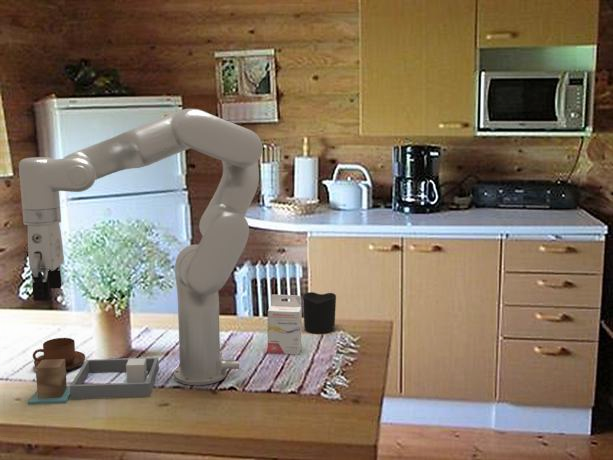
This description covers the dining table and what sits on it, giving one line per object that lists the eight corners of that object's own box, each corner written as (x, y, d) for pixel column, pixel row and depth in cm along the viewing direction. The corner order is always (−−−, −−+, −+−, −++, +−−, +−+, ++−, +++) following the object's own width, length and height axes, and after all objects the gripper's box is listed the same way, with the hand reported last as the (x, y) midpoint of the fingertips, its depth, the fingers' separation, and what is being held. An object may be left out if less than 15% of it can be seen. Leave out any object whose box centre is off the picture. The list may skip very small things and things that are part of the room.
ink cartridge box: (267, 353, 180) (266, 299, 177) (269, 347, 184) (269, 293, 182) (299, 355, 179) (299, 300, 176) (301, 348, 184) (301, 294, 181)
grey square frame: (158, 369, 169) (158, 357, 168) (150, 396, 153) (149, 383, 153) (86, 371, 167) (86, 359, 167) (70, 399, 152) (69, 386, 151)
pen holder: (318, 336, 193) (318, 302, 191) (296, 328, 200) (296, 295, 198) (342, 329, 199) (342, 296, 197) (320, 322, 206) (320, 289, 204)
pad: (75, 388, 158) (75, 385, 158) (66, 403, 150) (66, 400, 150) (39, 389, 157) (39, 386, 157) (28, 404, 149) (28, 401, 149)
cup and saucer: (50, 379, 163) (48, 355, 162) (25, 367, 171) (23, 343, 170) (95, 365, 172) (93, 341, 171) (69, 354, 180) (67, 331, 178)
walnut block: (66, 388, 156) (64, 359, 155) (61, 397, 151) (59, 367, 150) (44, 389, 156) (42, 359, 154) (37, 398, 151) (35, 368, 149)
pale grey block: (147, 378, 163) (146, 358, 163) (144, 385, 160) (143, 364, 159) (129, 379, 163) (128, 359, 162) (127, 385, 159) (126, 365, 158)
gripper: (49, 222, 138) (55, 304, 142) (70, 209, 155) (75, 283, 158) (10, 223, 138) (17, 306, 141) (35, 210, 155) (41, 284, 158)
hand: (48, 293), depth 150 cm, fingers open, 9 cm apart
